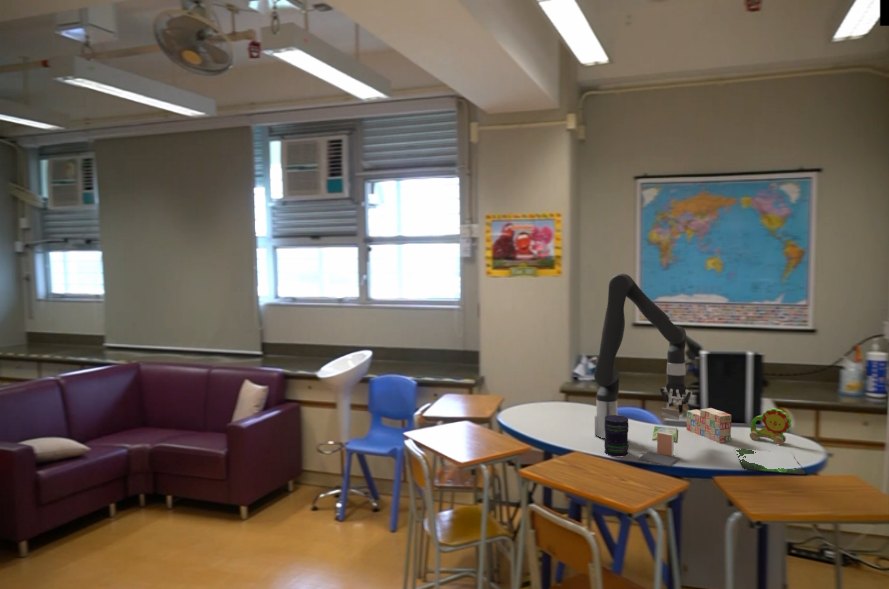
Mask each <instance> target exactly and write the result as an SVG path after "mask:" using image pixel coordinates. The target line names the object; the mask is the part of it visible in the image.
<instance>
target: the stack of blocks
mask: <svg viewBox="0 0 889 589" xmlns="http://www.w3.org/2000/svg"><path fill="white" fill-rule="evenodd" d="M685 414H686V415H685V416H686V430H687V431H689V432H691V433H693V434H696V435H698V436H701V437H703V436H704V438H705V439H708V440H711V441H713V442H715V441H716V443H718V444H722V443H723V442H724V443H730V442H731V441H732V439H731V436H732V434H731V432H732V431H731V430H732V414H730V413H727V412H725V411H722V410H718V409H715V408H712V407H709V408H702V409H692V410H688V411H686V412H685ZM729 441H730V442H729ZM724 443H723V444H724Z"/></svg>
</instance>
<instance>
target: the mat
mask: <svg viewBox="0 0 889 589" xmlns="http://www.w3.org/2000/svg"><path fill="white" fill-rule="evenodd" d="M677 460H678V461H680V457H677V456H674V455H673V456H668V455H664V454H659V453H657V452H653V451H646V452H645V453H643V454H642V455H640V456H639V457H637V461H640V462H644V461H645V463H649V462H651V463H650V464H653V463H654V464H655V465H659V466H662V467H668V468H670V467H671V466H672V465H674V464H675V463H676V462H678V461H677Z"/></svg>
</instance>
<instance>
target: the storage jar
mask: <svg viewBox="0 0 889 589" xmlns="http://www.w3.org/2000/svg"><path fill="white" fill-rule="evenodd" d="M604 427H605V428H604V429H605V439H604V445H603V446H604V454H605V453H606V455H607V454H608V455H607V456H609V455H611V456H610V457H614V456H623V457H626V455H627V456H628V455H629V446H630V445H629V438H628V437H629V434H628V433H629V418H628V417H626V416H624V415H618V414H617V415H609V416H606V417H605V423H604Z"/></svg>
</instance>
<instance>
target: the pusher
mask: <svg viewBox="0 0 889 589" xmlns="http://www.w3.org/2000/svg"><path fill="white" fill-rule="evenodd" d="M688 403H689V402H688ZM688 403H686V404H683V412H682V413H681V414H680V413H679V407H678V405H679V401H678V402H676V403H674V405H673V406H671V407H669V406H668V407H661V418H663V419H670V420H676V421H679V420H680V416H681V415H682V414H686V411H689V409H688V406H689V404H688Z"/></svg>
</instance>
